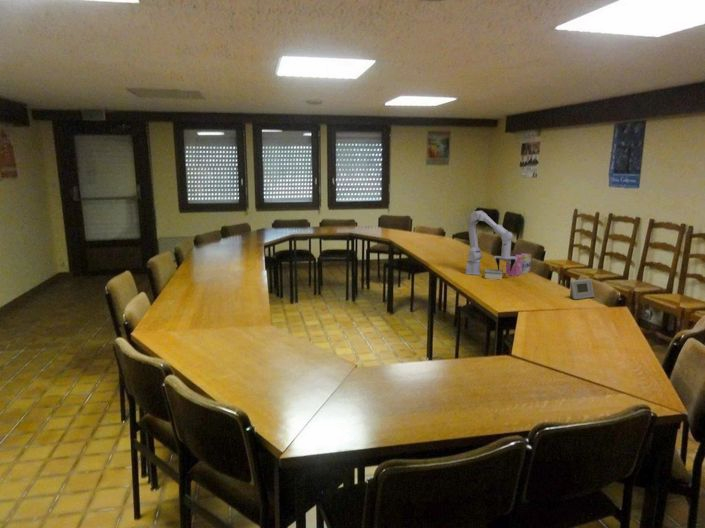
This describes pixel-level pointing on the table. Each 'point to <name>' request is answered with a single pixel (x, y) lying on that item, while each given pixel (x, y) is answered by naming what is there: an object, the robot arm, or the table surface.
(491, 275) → the tub
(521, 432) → the table surface
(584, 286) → the digital clock
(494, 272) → the lid
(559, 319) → the table surface
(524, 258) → the gum box
